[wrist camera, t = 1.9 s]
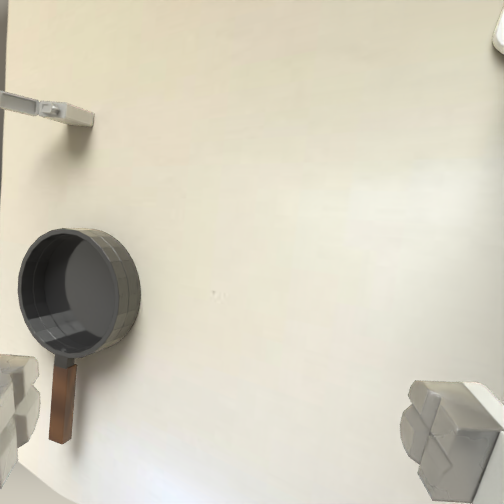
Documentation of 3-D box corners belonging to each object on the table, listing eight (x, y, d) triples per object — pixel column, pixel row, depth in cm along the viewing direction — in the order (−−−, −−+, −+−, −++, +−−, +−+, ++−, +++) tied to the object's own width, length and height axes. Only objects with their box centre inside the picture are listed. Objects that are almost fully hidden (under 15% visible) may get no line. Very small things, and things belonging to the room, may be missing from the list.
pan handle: (64, 349, 52) (54, 352, 50) (78, 353, 51) (68, 356, 49) (57, 433, 53) (47, 439, 51) (71, 439, 52) (61, 445, 50)
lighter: (94, 112, 51) (39, 92, 44) (92, 126, 51) (38, 109, 44) (50, 108, 53) (-9, 89, 46) (49, 122, 54) (-10, 105, 46)
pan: (48, 222, 55) (21, 221, 51) (146, 237, 49) (124, 237, 46) (40, 335, 56) (14, 342, 52) (134, 361, 51) (112, 371, 47)
